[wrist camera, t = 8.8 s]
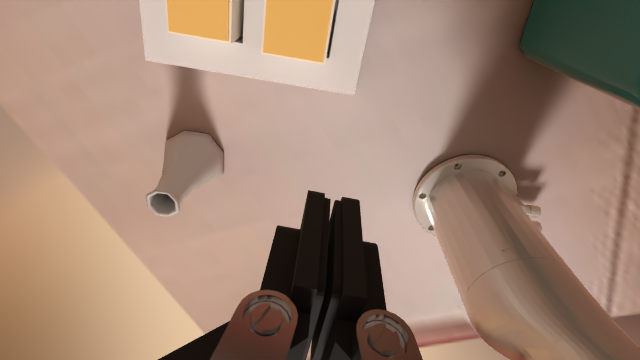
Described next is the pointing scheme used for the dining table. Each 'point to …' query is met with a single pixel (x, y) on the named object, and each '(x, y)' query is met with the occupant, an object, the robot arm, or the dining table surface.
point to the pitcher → (588, 43)
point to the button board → (246, 50)
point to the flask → (185, 170)
